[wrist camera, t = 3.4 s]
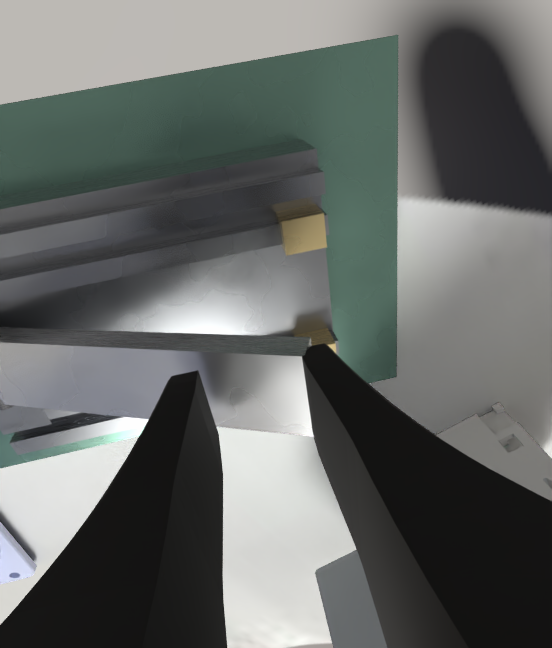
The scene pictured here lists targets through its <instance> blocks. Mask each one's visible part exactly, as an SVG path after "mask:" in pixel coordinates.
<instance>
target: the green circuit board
mask: <svg viewBox="0 0 552 648" xmlns="http://www.w3.org/2000/svg"><path fill="white" fill-rule="evenodd" d="M397 154H398V35H395V36H389V37H383V38H377V39H372V40H366V41H361V42H355V43H349V44H343V45H338V46H332V47H326V48H321V49H315V50H309V51H304V52H298V53H292V54H286V55H281V56H275V57H269V58H264V59H258V60H253V61H247V62H241V63H235V64H230V65H224V66H219V67H212V68H207V69H201V70H196V71H190V72H184V73H179V74H173V75H168V76H161V77H156V78H150V79H144V80H139V81H133V82H127V83H122V84H116V85H110V86H105V87H99V88H94V89H87V90H82V91H76V92H70V93H65V94H59V95H54V96H48V97H42V98H36V99H30V100H25V101H19V102H13V103H8V104H2V105H0V327H8V328H39V329H70V330H101V331H132V332H163V333H194V334H225V335H257V336H288V337H311V344H312V346H313V345H318V344H323V343H325V344H326V345H328V346H329V347H330V348H331V349H332V350H333V351H334V352H335V353H336V354H337V355H338V356H339V357H340V358H341V359H342V360H343V361H344V362H345V363H346V364H347V365H348V366H349V367H350V368H351V369H352V370H354V371H355V372H356V373H357V374H358V375H359V376H360V377H361V378H362V379H363V380H365V381H366V382H367V383H372V382H376V381H381V380H385V379H389V378H394V377H396V367H397V169H398V168H397V166H398V162H397V161H398V155H397ZM148 420H149V419H139V418H130V417H120V416H110V415H101V414H91V413H82V412H72V411H62V410H53V409H43V408H34V407H24V406H13V407H12V408H9V409H7V410H3V411H0V468H4V467H8V466H12V465H17V464H21V463H25V462H30V461H34V460H38V459H43V458H47V457H51V456H56V455H60V454H64V453H69V452H73V451H77V450H82V449H86V448H90V447H95V446H99V445H103V444H108V443H112V442H116V441H121V440H125V439H129V438H134V437H138V436H140V434H141V432H142V431H143V429H144V427H145V425H146V423H147V421H148Z"/></svg>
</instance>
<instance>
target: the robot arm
mask: <svg viewBox="0 0 552 648" xmlns="http://www.w3.org/2000/svg"><path fill="white" fill-rule="evenodd" d="M302 361H303V368H304V375H305V382H306V389H307V396H308V403H309V410H310V417H311V424H312V431H313V436H314V439H315V443H316V446H317V450H318V453H319V456H320V458H321V461H322V464H323V466H324V469H325V471H326V474H327V476H328V479H329V481H330V484H331V486H332V489H333V491H334V494H335V496H336V499H337V501H338V504H339V506H340V508H341V511H342V513H343V516H344V518H345V521H346V523H347V526H348V528H349V531H350V533H351V536H352V538H353V541H354V543H355V546H356V549H357V552H358V554H359V557H360V560H361V563H362V566H363V569H364V572H365V575H366V579H367V582H368V585H369V589H370V592H371V595H372V598H373V602H374V605H375V608H376V612H377V615H378V618H379V622H380V625H381V628H382V632H383V635H384V638H385V642H386V645H387V648H552V501H550V500H548V499H546V498H544V497H542V496H541V495H539V494H537V493H535V492H533V491H531V490H529V489H527V488H525V487H523V486H522V485H520V484H518V483H516V482H514V481H512V480H510V479H508V478H506V477H504V476H502V475H501V474H499V473H497V472H495V471H493V470H491V469H489V468H488V467H486V466H484V465H483V464H481V463H479V462H477V461H476V460H474V459H472V458H471V457H469V456H467V455H466V454H464V453H462V452H461V451H459V450H458V449H456V448H454V447H453V446H451V445H450V444H448V443H447V442H445V441H443V440H442V439H440V438H439V437H437V436H436V435H434V434H433V433H431V432H430V431H429V430H427V429H426V428H424V427H423V426H421V425H420V424H419V423H417V422H416V421H415V420H413V419H412V418H411V417H409V416H408V415H406V414H405V413H404V412H402V411H401V410H400V409H399V408H397V407H396V406H395V405H393V404H392V403H391V402H390V401H388V400H387V399H386V398H385V397H384V396H382V395H381V394H380V393H379V392H378V391H376V390H375V389H374V388H373V387H372V386H370V385H369V384H368V383H367V382H366V381H365V380H363V379H362V378H361V377H360V376H359V375H358V374H357V373H356V372H355V371H354V370H352V369H351V368H350V367H349V366H348V365H347V364H346V363H345V362H344V361H343V360H342V359H341V358H340V357H339V356H338V355H337V354H336V353H335V352H334V351H333V350H332V349H331V348H330V347H329V346H328V345H326V344H325V343H323V344H318V345H313V346H310V347H309V349H308V350H307V352H306V354H305V355H304V356H302ZM36 567H37V566H36V564H35V563H34V562H33V560H32V559H31V558H30V557H29V556H28V554H27V553H26V552H25V551H24V550H23V548H22V547H21V546H20V545H19V544H18V542H17V541H16V540H15V539H14V538H13V536H12V535H11V534H10V533H9V532H8V530H7V529H6V528H5V527H4V526H3V524H2V523H1V522H0V584H4V583H8V582H12V581H16V580H20V579H24V578H28V577H31V576H32V575H34V573H35V570H36ZM222 568H223V471H222V461H221V452H220V443H219V435H218V431H217V428H216V425H215V422H214V418H213V415H212V412H211V409H210V406H209V403H208V399H207V396H206V393H205V390H204V387H203V383H202V380H201V377H200V374H199V371H198V370H197V371H192V372H188V373H183V374H178V375H174V376H171V377H170V379H169V380H168V382H167V384H166V386H165V388H164V390H163V392H162V394H161V396H160V398H159V400H158V402H157V404H156V406H155V408H154V410H153V412H152V414H151V416H150V418H149V420H148V421H147V423H146V425H145V427H144V429H143V431H142V432H141V434H140V436H139V438H138V439H137V441H136V443H135V445H134V447H133V448H132V450H131V452H130V454H129V455H128V457H127V459H126V460H125V462H124V463H123V465H122V467H121V468H120V470H119V471H118V473H117V475H116V476H115V478H114V479H113V481H112V482H111V484H110V486H109V487H108V489H107V490H106V492H105V493H104V495H103V496H102V498H101V499H100V501H99V502H98V504H97V505H96V507H95V508H94V510H93V511H92V512H91V514H90V515H89V517H88V518H87V519H86V521H85V522H84V524H83V525H82V526H81V528H80V529H79V530H78V532H77V533H76V534H75V536H74V537H73V538H72V540H71V541H70V542H69V544H68V545H67V546H66V548H65V549H64V550H63V551H62V553H61V554H60V555H59V556H58V558H57V559H56V560H55V561H54V563H53V564H52V565H51V566H50V568H49V569H48V570H47V571H46V572H45V574H44V575H43V576H42V577H41V578H40V580H39V581H38V582H37V583H36V584H35V586H34V587H33V588H32V589H31V590H30V592H29V593H28V594H27V595H26V596H25V597H24V599H23V600H22V601H21V602H20V603H19V605H18V606H17V607H16V608H15V609H14V610H13V612H12V613H11V614H10V615H9V616H8V617H7V618H6V619H5V620H4V622H3V623H2V624H1V625H0V648H227V640H226V628H225V616H224V604H223V578H222Z"/></svg>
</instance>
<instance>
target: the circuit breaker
mask: <svg viewBox="0 0 552 648" xmlns="http://www.w3.org/2000/svg"><path fill="white" fill-rule="evenodd" d="M492 408H493V411H491V412H489V413H487V414H485V415H483V416H481V417H479V416H478V415H477V414H475V415H473V416H471V417H469V418H468V419H466V420H464V421H462V422H460V423H458V424H456V425H454V426H452V427H450V428H448V429H446V430H444V431H442V432H441V433H439V434H437V435H436V436H437V437H439V438H440V439H442V440H443V441H445V442H447V443H448V444H450V445H451V446H453V447H454V448H456V449H458V450H459V451H461V452H462V453H464V454H466V455H467V456H469V457H471V458H472V459H474V460H476V461H477V462H479V463H481V464H483V465H484V466H486V467H488V468H489V469H491V470H493V471H495V472H497V473H499V474H501V475H502V476H504V477H506V478H508V479H510V480H512V481H514V482H516V483H518V484H520V485H522V486H523V487H525V488H527V489H529V490H531V491H533V492H535V493H537V494H539V495H541V496H542V497H544V498H546V499H548V500H550V501H552V459H551V458H550V457H549V455H548V454H547V453H546V452H545V451H544V450H543V449H542V448H541V447H540V446H539V445H538V444H537V442H536V441H535V440H534V439H533V438H532V437H531V436H530V435H529V434H528V433H527V432H526V431H525V430H524V428H523V427H522V426H521V425H520V424H519V423H518V422H517V423H515V421H514V420H513V419H512V418H511V417H510V416H509V415H508V414H507V413H506V412H505V410H504V407H503V406H502V405H501V404H500V403H499V402H498V403H496V404H494V405H493V406H492ZM315 574H316V578H317V582H318V586H319V590H320V595H321V599H322V603H323V607H324V611H325V615H326V619H327V623H328V627H329V631H330V636H331V640H332V644H333V648H387V645H386V642H385V638H384V635H383V632H382V628H381V625H380V622H379V618H378V615H377V612H376V608H375V605H374V602H373V598H372V595H371V592H370V589H369V585H368V582H367V579H366V575H365V572H364V569H363V566H362V563H361V560H360V557H359V554H358V552H357V550H355V551H353V552H351V553H349V554H347V555H345V556H343V557H341V558H339V559H337V560H335V561H333V562H331V563H329V564H327V565H325V566H323V567H321V568H319V569H317V570H316V572H315Z"/></svg>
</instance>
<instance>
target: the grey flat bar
mask: <svg viewBox="0 0 552 648" xmlns="http://www.w3.org/2000/svg"><path fill="white" fill-rule="evenodd" d="M310 346H312V344H311V337H288V336H257V335H225V334H194V333H163V332H132V331H101V330H70V329H39V328H8V327H0V411H3V410H7V409H9V408H12V407H13V406H24V407H34V408H43V409H53V410H62V411H72V412H82V413H91V414H101V415H110V416H120V417H130V418H139V419H149V418H150V416H151V414H152V412H153V410H154V408H155V406H156V404H157V402H158V400H159V398H160V396H161V394H162V392H163V390H164V388H165V386H166V384H167V382H168V380H169V379H170V377H171V376H174V375H178V374H183V373H188V372H192V371H197V370H198V371H199V374H200V377H201V380H202V383H203V387H204V390H205V393H206V396H207V399H208V403H209V406H210V409H211V412H212V415H213V418H214V422H215V425H216V427H226V428H236V429H245V430H255V431H264V432H274V433H284V434H293V435H303V436H312V437H314V436H313V431H312V424H311V417H310V410H309V403H308V396H307V389H306V382H305V375H304V368H303V361H302V356H304V355H305V354H306V352H307V350H308V349H309V347H310Z"/></svg>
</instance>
